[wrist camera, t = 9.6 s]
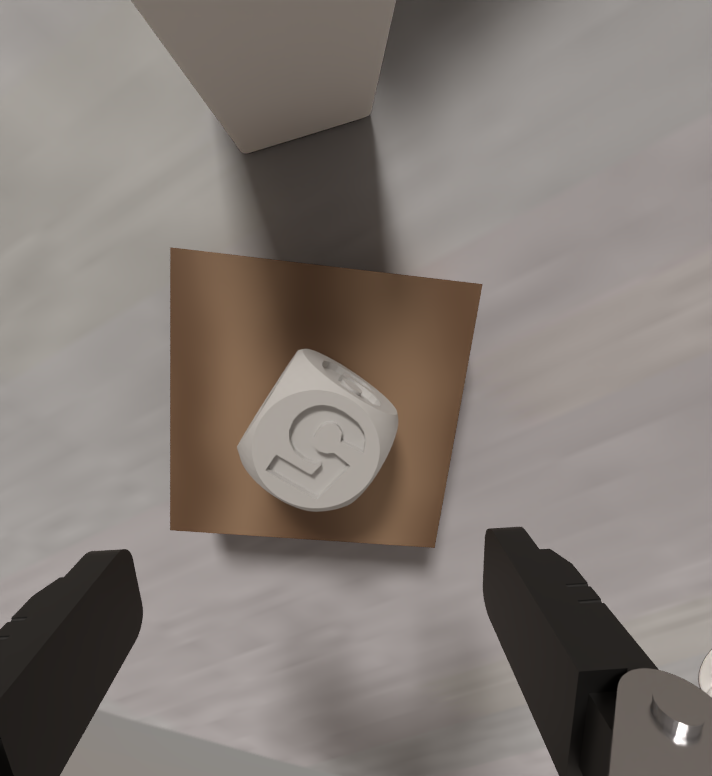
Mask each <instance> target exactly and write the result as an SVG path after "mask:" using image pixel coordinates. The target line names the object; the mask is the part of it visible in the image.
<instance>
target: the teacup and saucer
mask: <svg viewBox="0 0 712 776" xmlns="http://www.w3.org/2000/svg"><path fill="white" fill-rule="evenodd" d="M711 674H712V650H711V651H710V652H709V653H708V655H707V656H706V657H705V659H704V661H703V663H702V665H701V668H700V672H699V685H700V688H701V690H703V691H704V692H706V693H707V694H708V695H709V696H710V697H712V676H711Z"/></svg>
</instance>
